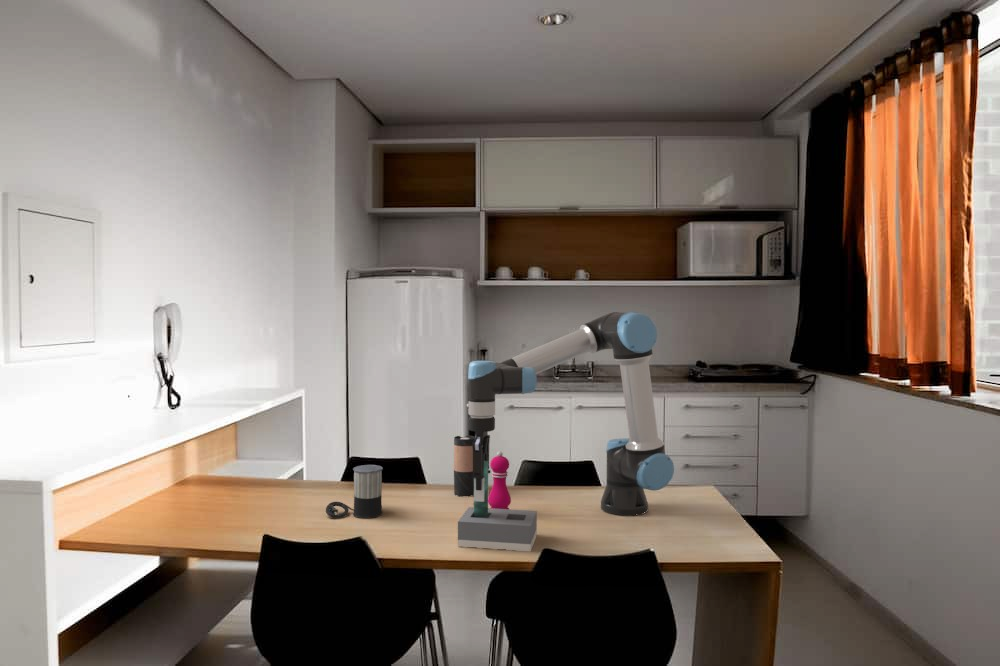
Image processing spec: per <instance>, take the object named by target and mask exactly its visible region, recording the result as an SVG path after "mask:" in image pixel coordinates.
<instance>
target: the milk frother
mask: <svg viewBox="0 0 1000 666" xmlns="http://www.w3.org/2000/svg"><path fill="white" fill-rule="evenodd" d="M383 469H384V468H383V467H382V466H381V465H376V464H364V465H363V464H362V465H356V466H355V467H353V468H352V470H353V508H351V507H350V506H349V505H347V504H345V503H343V502H341V501H331V502H330V503H328V504H327V505H326V507H325V513H326V514H327V516H329V517H332V518H344V517H346V516H348V513H349V510H351V511H353V513H352V516H354V517H355V518H358V519H374V518H378V517H380V516H382V515H383V509H382V508H383V506H382V502H383V501H382V497H383V496H382V493H383V492H382V491H383V490H382V485H383V482H382V481H383V477H382V476H383V474H382V471H383ZM336 507H340V508H342V509H344V511H343V512H341V513H340V512H339V510H338V508H336ZM338 512H339V513H338Z"/></svg>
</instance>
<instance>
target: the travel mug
mask: <svg viewBox="0 0 1000 666" xmlns="http://www.w3.org/2000/svg"><path fill="white" fill-rule="evenodd" d="M474 437H475V435H474V436H473V435H466V436H460V435H456V436H454V437H453V438H454V439H453V492H454V495H455V496H456V495H458V496H457V497H460V496H468V497H472V496H471V495H473V496H474V478H472V477H471V476H473V447H472V443H473V438H474Z"/></svg>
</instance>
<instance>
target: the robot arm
mask: <svg viewBox="0 0 1000 666" xmlns="http://www.w3.org/2000/svg"><path fill="white" fill-rule="evenodd" d="M657 339H658V329H657V327H656V324H655V323H654V321H653V320H652V318H651V317H650V316H648V315H646V314H644V313H640V312H637V311H624V312H623V311H621V312H620V311H615V312H614V311H613V312H609V313H605V314H603V315H601V316H599V317H596V318H595V319H592V320H591V321H588V322H586V323H583V324H582V325H580V327H579V329H577V330H575V331H572V332H570V333H568V334H566V335H563V336H561V337H559V338H556V339H553V340H551V341H549V342H547V343H544V344H541V345H540V346H537V347H535V348H532V349H530V350H527V351H525V352H522V353H520V354H518V355H516V356H514V357H511V358H509V359H506V360H503V361H501V362H495V361H494V360H473V361H471V362H470V363H469V365H468V374H467V375H468V376H467V379H468V381H467V382H468V383H467V384H468V388H467V389H468V393H467V394H468V402H467V403H466V408H467V409H468V413H467V414H468V415H469V416H468V418H467V429H468V430H469V431H470V432H474V438H473V443H472V447H473V476H471V477H472V478H474V495H473V502H474V501H479V502H484V481H485V478H483V477H484V460H485V461H488V474H491V469H490V441H491V434H488V432H493V431H494V430H495V429H496V418H495V416H494V415H496V395H508V394H509V395H517V394H518V395H519V394H522V395H524V394H531V393H533V392H535V390H536V387H537V385H538V384H537V381H538V378H537V375H538V374H540V373H542V372H545V371H547V370H549V369H551V368H554V367H557V366H559V365H560V364H564V363H566V362H568V361H571V360H573V359H575V358H578V357H580V356H583V355H585V354H587V353H590V354H595V353H598V352H601V351H604V350H612V354H613V359H614V361H616V362H617V363H618V364H619V368H620V375H621V377H620V378H621V383H622V390H623V391H622V392H623V398H624V405H625V413H626V420H627V429H628V435H629V436H628V437H629V438H628V437H627V438H624V437H623V438H612V439H609V440H608V442H607V445H606V451H605V452H606V485H605V488H604V492H603V494H602V497H601V498H600V499H601V500H600V509H601V510H602V511H603V512H605V513H607V512H608V514H611V513H612V514H611V515H616V514H618V515H617V516H625V515H632V516H637V515H636V514H641V515H643V514H642V513H644V512H646V511H647V510H648V511H649V504H648V503H649V502H648V499H647V496H646V493H645V490H649V491H659V490H662V489H664V488H665V487H667V486H668V484H669V483H670V481H672V479H673V477H674V473H675V465H674V462H673V460H672V458H671V457H670V456H669V455H668V454H666V450H665V449H666V448H665V443H664V441H663V440H662V439H661V438H659V436H658V435H659V434H658V426H657V419H656V411H655V403H654V394H653V386H652V379H651V371H650V362H649V360H650V359H651V358H652V356H653V348H654V347H655V343H657ZM644 489H645V490H644ZM648 511H647V512H648ZM647 512H646V513H647ZM644 514H645V513H644Z"/></svg>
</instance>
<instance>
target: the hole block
mask: <svg viewBox="0 0 1000 666" xmlns="http://www.w3.org/2000/svg"><path fill="white" fill-rule="evenodd" d="M537 518H538V511H537V510H530V509H529V510H526V509H525V510H524V509H512V508H511V509H510V508H509V509H494V508H491V507H488V515H487V516H484V517H477V516H474V506H473V507H472V506H469V507H468V508H467V509H466V510H465V511H464V513H463V514H462V515H461V517H460V518H459V519H458V521H457V547H458V546H463V547H462V548H467V547H477V548H476V549H482V548H492V549H491V550H497V549H506V550H505V551H512V550H516V552H527V553H528V552H530V553H531V552H532V549H533V546H534V543H535V540H536V538H537V536H538V535H537V529H538V528H537V527H538V525H537V524H538V522H537V521H538V519H537Z"/></svg>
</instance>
